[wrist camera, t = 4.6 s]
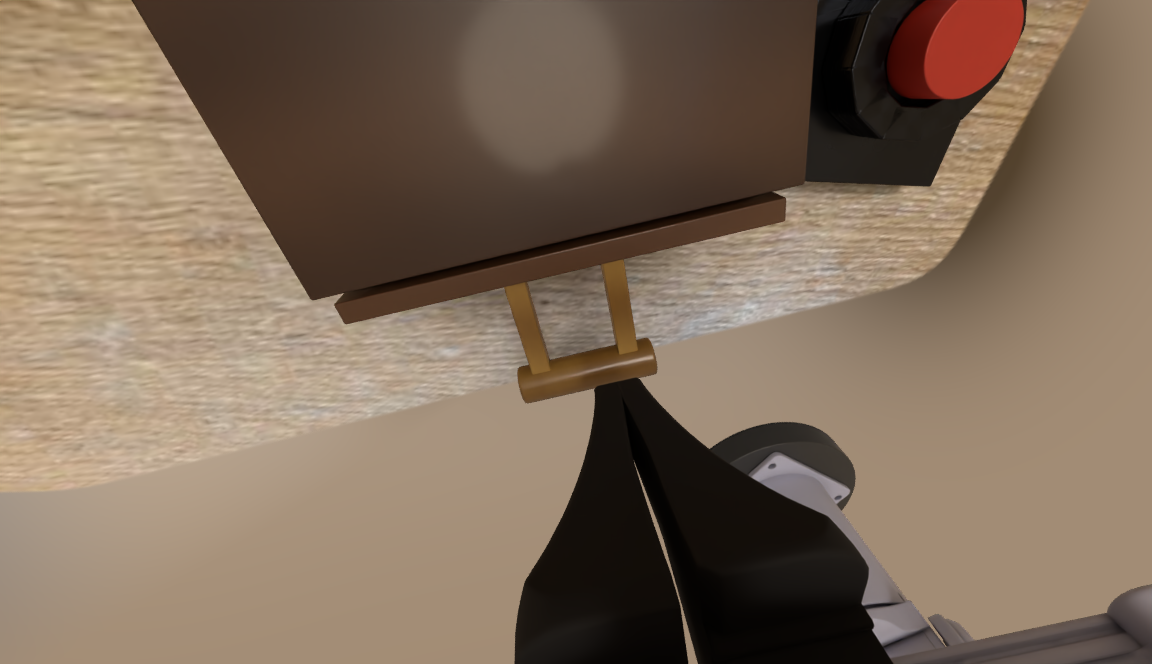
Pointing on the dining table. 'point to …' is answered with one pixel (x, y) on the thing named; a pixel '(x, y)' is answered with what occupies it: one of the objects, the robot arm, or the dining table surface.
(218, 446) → the dining table surface
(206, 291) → the dining table surface
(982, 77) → the button
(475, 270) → the door
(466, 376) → the dining table surface
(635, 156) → the compartment
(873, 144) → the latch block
